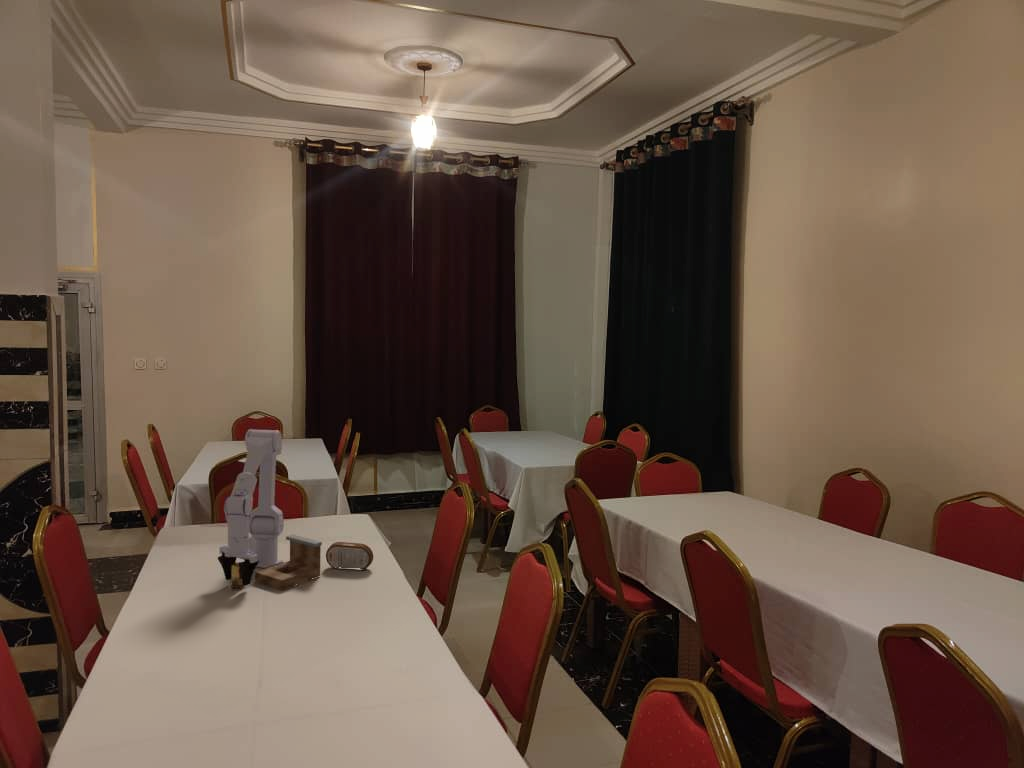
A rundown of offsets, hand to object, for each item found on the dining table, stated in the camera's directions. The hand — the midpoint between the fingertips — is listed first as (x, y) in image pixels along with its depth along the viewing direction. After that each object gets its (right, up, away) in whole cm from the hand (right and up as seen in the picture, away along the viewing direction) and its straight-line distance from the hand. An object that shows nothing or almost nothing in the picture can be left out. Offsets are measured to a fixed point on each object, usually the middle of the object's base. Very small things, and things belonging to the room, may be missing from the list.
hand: (238, 581), depth 206 cm
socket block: (+12, -2, +8) cm, 14 cm away
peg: (0, -2, 0) cm, 2 cm away
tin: (+28, -2, +19) cm, 34 cm away
